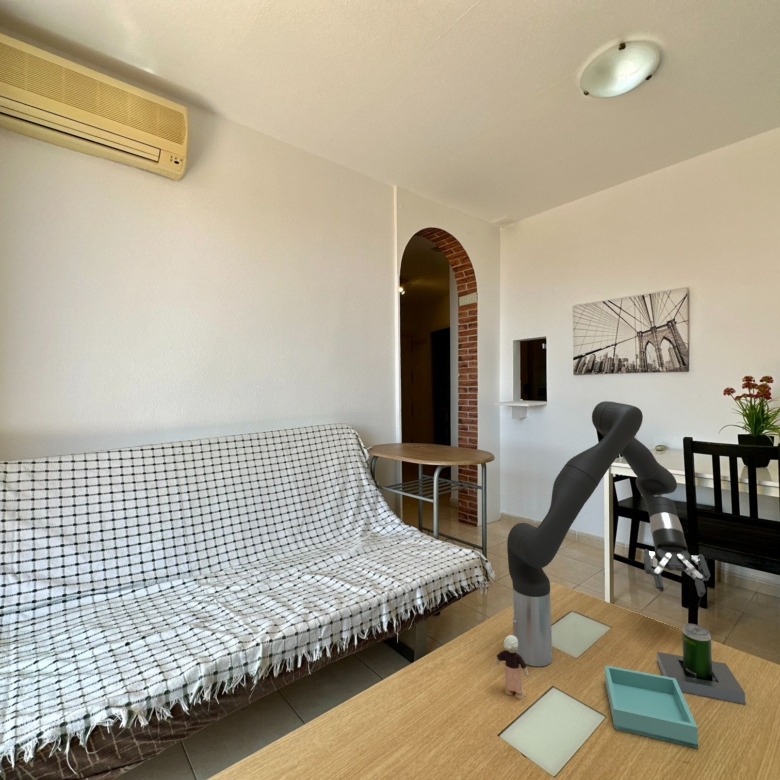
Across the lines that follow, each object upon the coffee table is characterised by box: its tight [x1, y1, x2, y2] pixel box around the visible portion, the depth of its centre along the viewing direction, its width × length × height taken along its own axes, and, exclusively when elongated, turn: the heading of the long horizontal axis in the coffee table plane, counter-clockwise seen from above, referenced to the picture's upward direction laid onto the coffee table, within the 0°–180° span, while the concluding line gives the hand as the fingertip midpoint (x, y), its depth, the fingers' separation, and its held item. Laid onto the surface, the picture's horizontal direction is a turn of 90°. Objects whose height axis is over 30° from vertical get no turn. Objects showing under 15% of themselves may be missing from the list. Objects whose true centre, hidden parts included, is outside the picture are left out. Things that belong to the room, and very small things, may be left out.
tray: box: [604, 664, 699, 749], centre depth 86 cm, size 14×14×4 cm
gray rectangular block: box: [656, 651, 746, 705], centre depth 95 cm, size 14×10×2 cm
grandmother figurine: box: [494, 634, 530, 700], centre depth 93 cm, size 8×4×13 cm, turn 65°
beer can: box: [681, 623, 713, 681], centre depth 95 cm, size 5×5×12 cm
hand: (681, 593), depth 105 cm, fingers open, 8 cm apart
